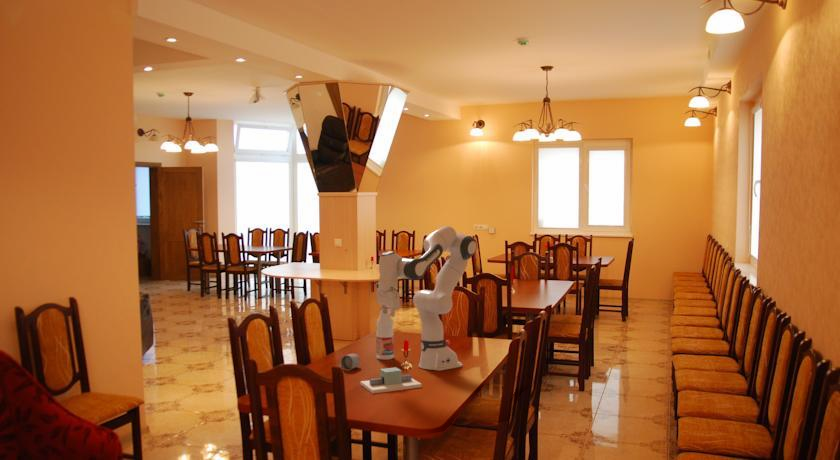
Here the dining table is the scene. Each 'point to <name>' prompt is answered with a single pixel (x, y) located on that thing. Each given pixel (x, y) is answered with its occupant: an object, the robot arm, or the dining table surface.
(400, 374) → the channel block
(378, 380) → the metal rail
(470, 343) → the dining table surface
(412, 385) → the mounting board
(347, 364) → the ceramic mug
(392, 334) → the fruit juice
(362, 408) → the dining table surface
